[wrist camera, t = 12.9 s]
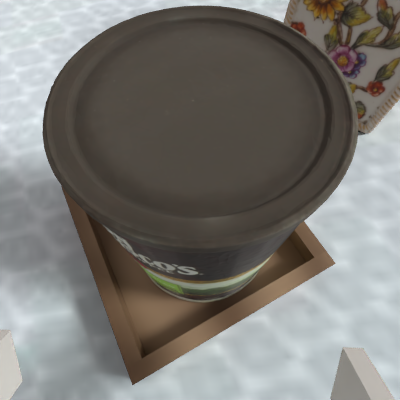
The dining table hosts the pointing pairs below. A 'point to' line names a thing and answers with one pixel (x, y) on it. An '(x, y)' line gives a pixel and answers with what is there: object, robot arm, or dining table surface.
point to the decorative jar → (357, 48)
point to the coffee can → (200, 140)
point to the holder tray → (177, 308)
